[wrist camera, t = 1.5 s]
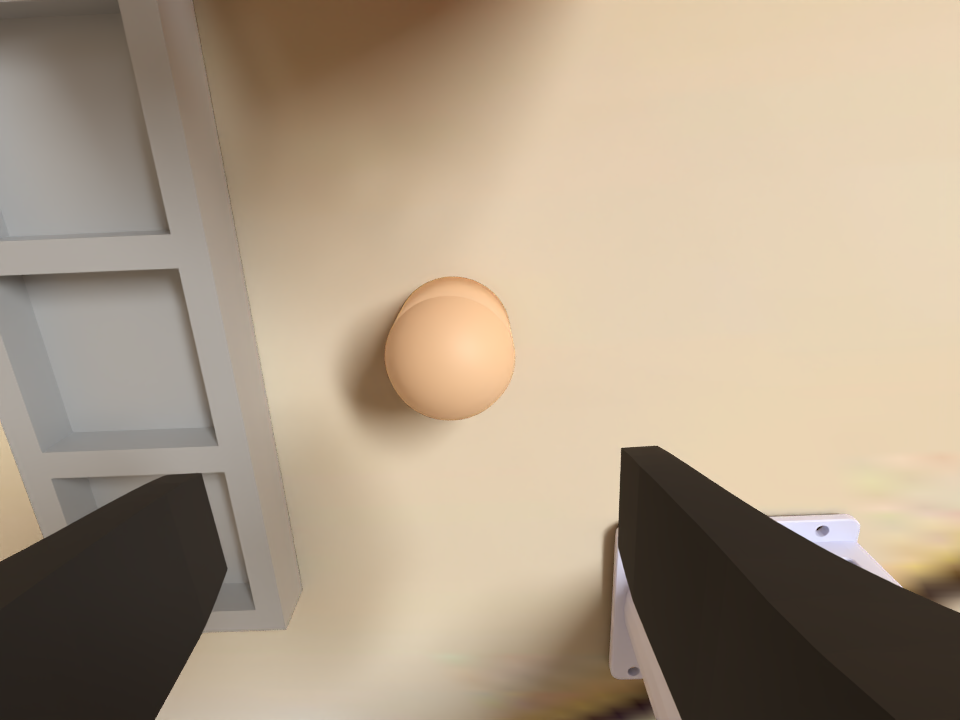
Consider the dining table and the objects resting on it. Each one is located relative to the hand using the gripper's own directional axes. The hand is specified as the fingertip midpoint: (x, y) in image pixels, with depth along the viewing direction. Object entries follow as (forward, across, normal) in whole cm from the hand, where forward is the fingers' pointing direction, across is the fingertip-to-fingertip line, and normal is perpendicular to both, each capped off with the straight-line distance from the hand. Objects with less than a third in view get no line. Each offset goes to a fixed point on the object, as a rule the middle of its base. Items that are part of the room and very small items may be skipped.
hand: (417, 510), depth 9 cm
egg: (+10, 0, 0) cm, 11 cm away
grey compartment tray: (+11, +11, 0) cm, 15 cm away
